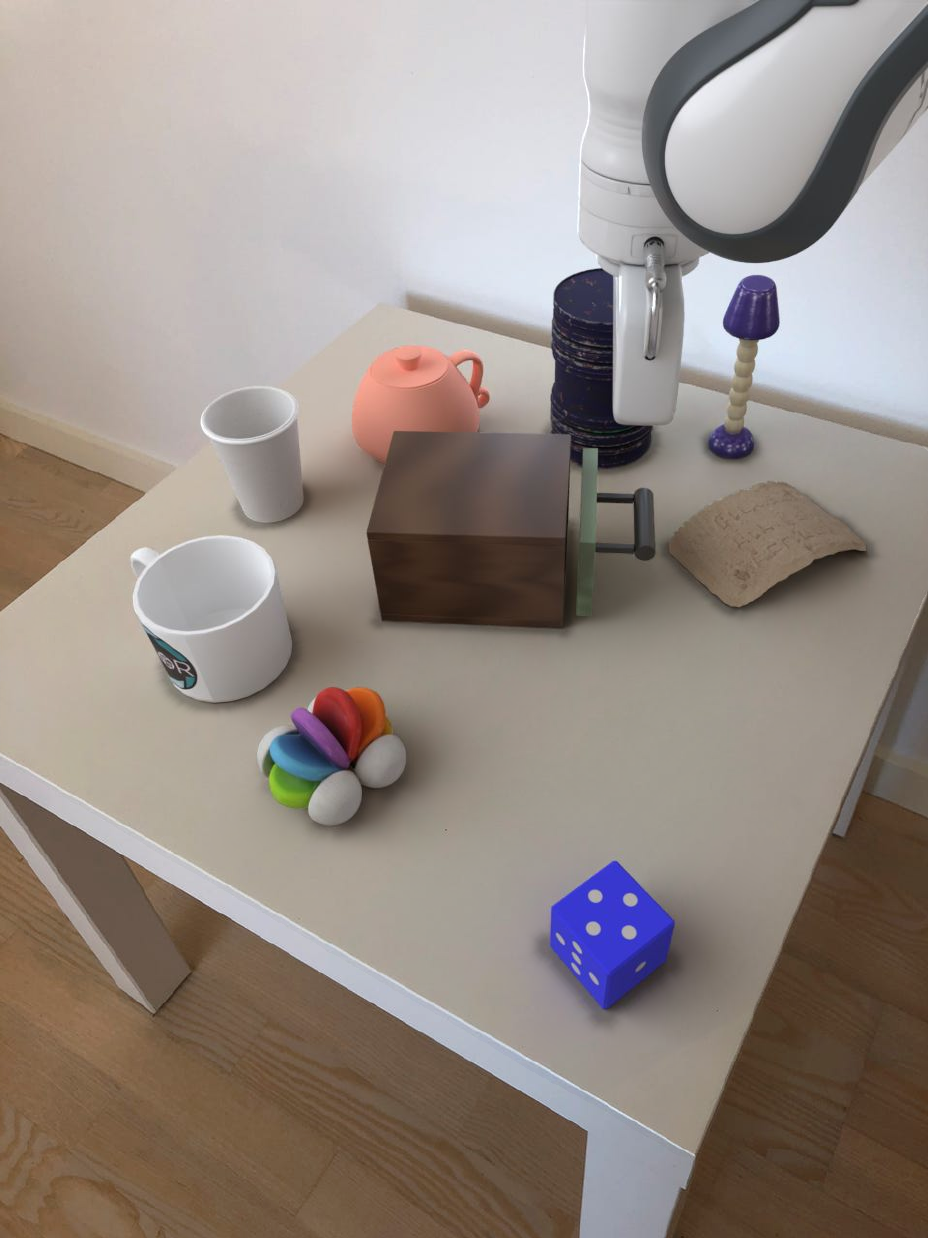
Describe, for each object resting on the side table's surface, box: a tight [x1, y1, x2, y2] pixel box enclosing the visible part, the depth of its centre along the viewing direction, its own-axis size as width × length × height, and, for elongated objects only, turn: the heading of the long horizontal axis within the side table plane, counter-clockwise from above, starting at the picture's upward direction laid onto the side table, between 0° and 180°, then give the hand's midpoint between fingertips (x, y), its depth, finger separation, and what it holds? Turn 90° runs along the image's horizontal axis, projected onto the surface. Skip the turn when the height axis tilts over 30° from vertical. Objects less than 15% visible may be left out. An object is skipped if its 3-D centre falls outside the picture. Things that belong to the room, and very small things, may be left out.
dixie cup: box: [200, 385, 304, 524], centre depth 84 cm, size 8×8×10 cm
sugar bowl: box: [351, 344, 491, 465], centre depth 89 cm, size 12×14×10 cm
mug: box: [129, 534, 293, 704], centre depth 72 cm, size 13×10×8 cm
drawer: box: [575, 448, 657, 617], centre depth 76 cm, size 18×11×8 cm, turn 84°
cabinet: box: [366, 431, 571, 630], centre depth 76 cm, size 15×13×10 cm
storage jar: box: [549, 267, 654, 470], centre depth 86 cm, size 10×10×15 cm
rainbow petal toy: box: [256, 686, 407, 827], centre depth 64 cm, size 8×10×7 cm
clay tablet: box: [667, 480, 867, 608], centre depth 79 cm, size 14×10×3 cm
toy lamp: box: [707, 274, 781, 460], centre depth 83 cm, size 5×5×17 cm
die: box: [549, 860, 676, 1010], centre depth 55 cm, size 5×5×5 cm
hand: (634, 402), depth 66 cm, fingers closed
